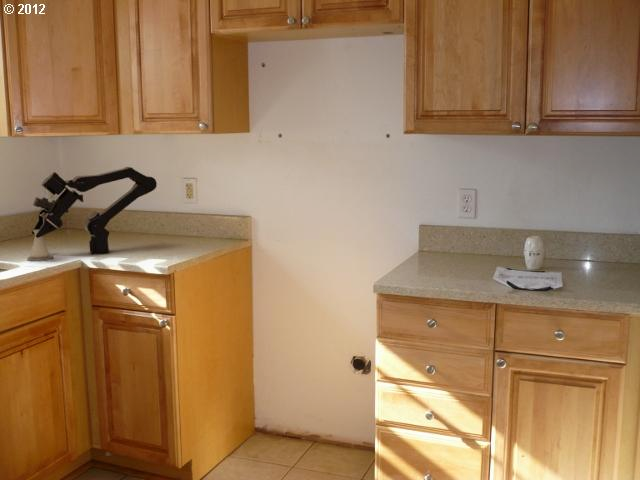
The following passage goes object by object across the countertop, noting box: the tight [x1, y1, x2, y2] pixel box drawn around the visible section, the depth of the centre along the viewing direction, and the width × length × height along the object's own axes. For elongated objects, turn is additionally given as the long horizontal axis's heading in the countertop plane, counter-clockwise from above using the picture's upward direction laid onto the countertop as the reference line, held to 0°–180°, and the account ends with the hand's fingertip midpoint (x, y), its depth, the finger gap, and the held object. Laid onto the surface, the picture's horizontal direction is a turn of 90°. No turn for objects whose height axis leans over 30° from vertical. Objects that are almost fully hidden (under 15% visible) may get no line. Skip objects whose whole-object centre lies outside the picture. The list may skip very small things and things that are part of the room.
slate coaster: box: [26, 254, 54, 262], centre depth 263 cm, size 9×9×1 cm
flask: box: [29, 229, 51, 258], centre depth 262 cm, size 7×7×10 cm
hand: (34, 235), depth 261 cm, fingers open, 9 cm apart
